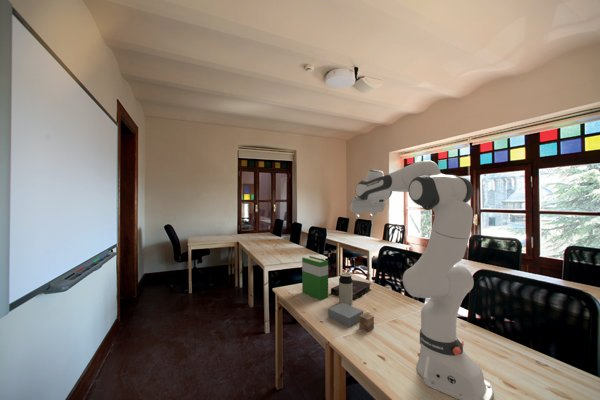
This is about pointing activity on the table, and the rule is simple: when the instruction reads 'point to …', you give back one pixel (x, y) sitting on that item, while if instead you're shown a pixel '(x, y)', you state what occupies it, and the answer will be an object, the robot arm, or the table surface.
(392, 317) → the table surface
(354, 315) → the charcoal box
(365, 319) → the walnut block
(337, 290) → the diary
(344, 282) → the travel mug
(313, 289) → the green cereal box
